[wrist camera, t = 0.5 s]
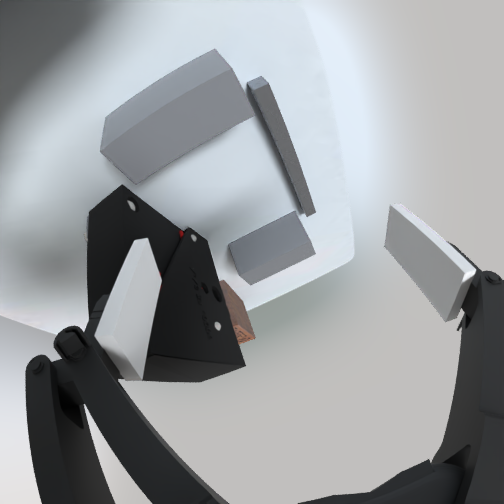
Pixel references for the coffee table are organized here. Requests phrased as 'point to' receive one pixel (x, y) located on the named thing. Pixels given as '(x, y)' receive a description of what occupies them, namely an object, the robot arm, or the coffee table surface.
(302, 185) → the metal rail
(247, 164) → the coffee table surface
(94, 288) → the electrical component
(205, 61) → the block
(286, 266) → the block
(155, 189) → the coffee table surface
